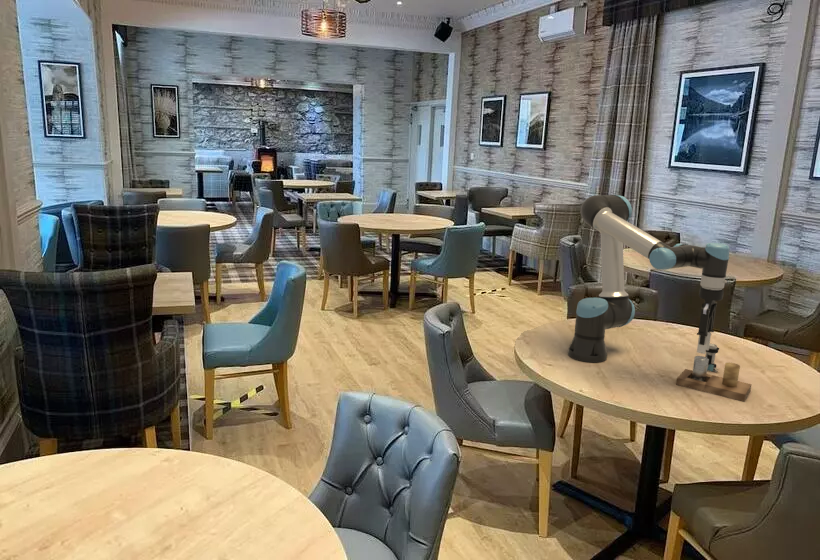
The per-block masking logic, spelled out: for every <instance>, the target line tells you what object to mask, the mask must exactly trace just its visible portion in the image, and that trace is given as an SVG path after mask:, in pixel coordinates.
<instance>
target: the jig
mask: <svg viewBox="0 0 820 560" xmlns="http://www.w3.org/2000/svg"><path fill="white" fill-rule="evenodd" d="M740 368H741V366H740V364H738V363H735V362H725V364H724V367H723V376H718V375H713V374H709V373H707V375H706V381H705V382H703V381H699V380H694V379H692V372H693V369H688V368H685V369H684V370H683V371H682V372H681V373H680V374H679V375H678V376H677V378H676V381H675V382H676V383H675V384H676V385H677V386H679V387H680V386H681V387H684V388H687V389H688V388H689V389H692V390H696V391H700V392H705V393H708V394H713V395H716V396H721V397H725V398H728V399H732V400H736V401H741V402H745V401H746V399H747V398H748V396H749V394H750V393H751V389H752V384H751V383H747V382H743V381H739V376H740V375H739V374H740V370H741V369H740Z"/></svg>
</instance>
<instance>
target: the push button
mask: <svg viewBox="0 0 820 560" xmlns="http://www.w3.org/2000/svg"><path fill="white" fill-rule="evenodd" d="M719 351H720V347H718V345H717V344H716V343H715V344H714V343H710V345H709V350H706V353H705V356H704V357H707V358H708V359H709V361H708V368H707V371H708V372H715V373H717V372H718V370H719V368H717V364H716V363H715V359H716V354H718V353H719Z"/></svg>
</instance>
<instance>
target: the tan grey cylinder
mask: <svg viewBox="0 0 820 560" xmlns="http://www.w3.org/2000/svg"><path fill="white" fill-rule="evenodd" d="M708 361H709V359H708V358H707V357H705V356H702V355H695V356H694V359H693V366H692V367H693V368H692V371H693V372H692V379H694V380H699V381H703V382H705V381H706V375H707V374H708V370H707V368H708Z"/></svg>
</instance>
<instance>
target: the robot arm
mask: <svg viewBox="0 0 820 560" xmlns="http://www.w3.org/2000/svg"><path fill="white" fill-rule="evenodd" d="M579 211H580V217H581V219H582V220H583V222H584V223H585V224H586V225H588V226H589V227H591V228H592V229H594V230H596V231H598V232H599V233H600V257H601V262H600V263H601V286H602V289H601V290H602V291H601V292H600V293H599V294H598V297H586V298H582V299H581V300H579V301H578V302H577V306H576V311H575V312H576V313H575V321H574V322H575V325H574V336H573V338H572V339H571V340H572V341H571V342H570V345H569V347H568V352H567V353H568V356H569V357H570V358H571V359H574V360H576V361H579V362H585V363H602V362H605V361H606V360H607V359H608V351H607V346H606V342H605V337H606V336H605V334H606V330H609V329H610V330H611V329H615V328H621V327H624V326H626V325H629V324H630V323H631V322H632V321H633V320H634V318H635V315H636V309H635V308H636V307H635V305H634V303H633V301H632V300H631V299H630V298H629V293H628V292H627V291H626V290H625V267H624V264H625V263H624V246H627V247H629V248H630V249H631V250H633V251H634V252H636V253H638V254H639V255H641V256H642V257H644V258H646V259H647V260H649V263H650V265H651V266H652V267H653V268H654V269H656V270H662V271H663V270H664V271H665V270H671V269H678V268H685V267H692V268H697V269H701V270H702V271H701V276H700V277H701V278H700V283H699V285H700V288H699V291H698V292H699V293H698V297H699V298H700V299H703V300H704V302H703V303H702V304H701V308H700V317H699V324H698V331H697V332H696V335H697V336H698V340H697V345H696V346H697V347H696V353H698V354H704V355H706V350H709V345H710V344H711V336H712V333H714V332H715V329H714V323H715V319H716V318H715V317H716V311H717V306H718V302H719V301H722V300H723V298H724V288H725V284H727V283H728V280H727V279H726V277H727V272H728V271H727V269H728V264H729V260H730V246H729V245H728V244H725V243H719V242H718V243H717V242H707V243H706V244H705V247H704V246H696V245H691V244H688V243H676V244H675V245H673V246H670V245H668V244H666V243H665V242H663V241H661V240H659V239H658V238H656V237H654V236H653V235H651V234H650V233H648V232H646V231H645V230H642V229H640V228H639V227H638V226H636V225H634V224H632V223H631V222H629V220H630V218H631V217H632V213H633V208H632V205H631V202H630V200H628V199H627V197H625V196H623V195H620V194H605V195H603V194H602V195H597V194H596V195H591V196H589V197H587V198H586V199H585V200H584V201H583V202H582V204H581V206H580V210H579Z"/></svg>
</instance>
